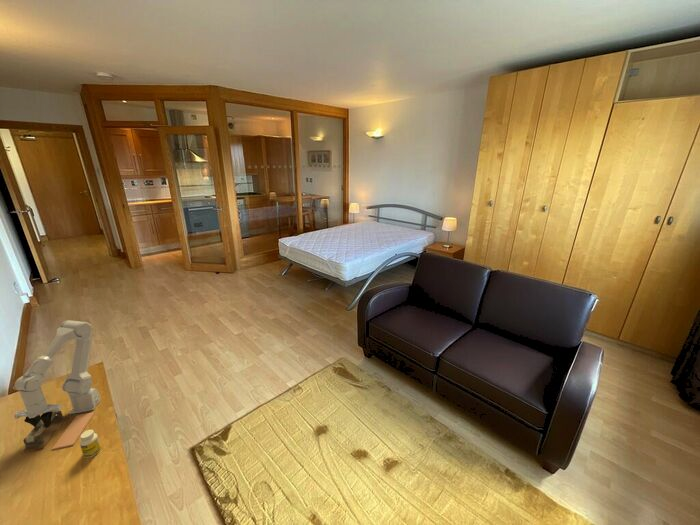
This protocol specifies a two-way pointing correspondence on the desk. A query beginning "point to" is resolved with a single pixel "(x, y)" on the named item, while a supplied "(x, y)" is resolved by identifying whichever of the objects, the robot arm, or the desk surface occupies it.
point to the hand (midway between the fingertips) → (44, 426)
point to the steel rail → (38, 429)
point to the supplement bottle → (89, 443)
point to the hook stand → (45, 434)
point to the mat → (73, 431)
